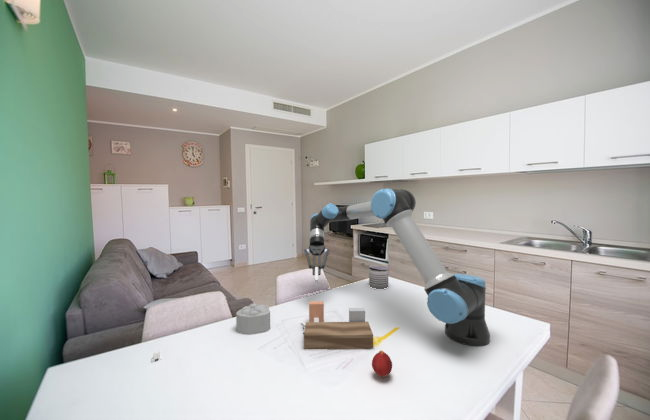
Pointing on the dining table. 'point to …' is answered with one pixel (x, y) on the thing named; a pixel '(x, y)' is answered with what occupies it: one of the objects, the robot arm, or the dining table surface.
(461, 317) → the robot arm
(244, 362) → the dining table surface
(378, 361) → the red oval fruit
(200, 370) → the dining table surface
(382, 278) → the can
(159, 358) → the adhesive hook
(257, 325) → the lumpy-topped squat cylinder
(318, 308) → the peach rectangular block
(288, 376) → the dining table surface
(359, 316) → the grey plunger
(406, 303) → the dining table surface
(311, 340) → the plunger housing
